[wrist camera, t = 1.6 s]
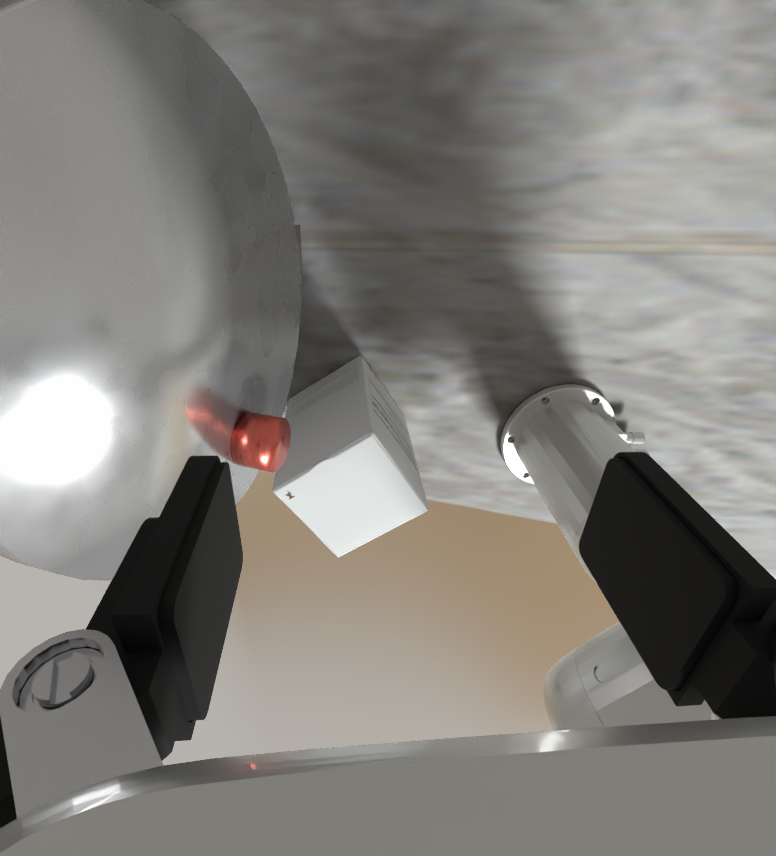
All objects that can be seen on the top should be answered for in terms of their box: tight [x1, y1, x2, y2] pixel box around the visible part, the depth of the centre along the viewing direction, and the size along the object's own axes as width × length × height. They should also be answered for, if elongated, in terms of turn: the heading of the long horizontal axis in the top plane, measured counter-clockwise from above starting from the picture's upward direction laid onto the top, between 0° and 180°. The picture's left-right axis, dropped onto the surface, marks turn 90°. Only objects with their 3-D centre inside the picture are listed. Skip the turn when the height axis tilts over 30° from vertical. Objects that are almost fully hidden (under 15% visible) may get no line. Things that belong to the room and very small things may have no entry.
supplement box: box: [272, 356, 429, 557], centre depth 41 cm, size 9×9×15 cm
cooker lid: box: [0, 0, 301, 580], centre depth 19 cm, size 23×21×4 cm
